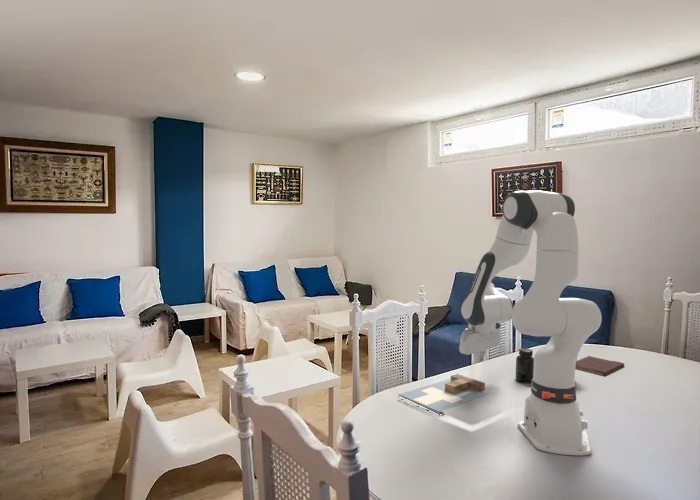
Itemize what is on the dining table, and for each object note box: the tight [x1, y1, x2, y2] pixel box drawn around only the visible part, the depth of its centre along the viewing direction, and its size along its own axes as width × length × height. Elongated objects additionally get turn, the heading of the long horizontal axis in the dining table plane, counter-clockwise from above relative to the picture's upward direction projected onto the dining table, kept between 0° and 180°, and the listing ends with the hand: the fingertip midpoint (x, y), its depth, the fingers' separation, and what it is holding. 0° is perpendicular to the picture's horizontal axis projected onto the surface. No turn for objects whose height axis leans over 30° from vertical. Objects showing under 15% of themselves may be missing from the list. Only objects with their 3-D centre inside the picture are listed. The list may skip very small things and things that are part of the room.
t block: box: [445, 373, 486, 394], centre depth 166 cm, size 12×12×2 cm
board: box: [398, 377, 493, 415], centre depth 161 cm, size 28×18×2 cm, turn 128°
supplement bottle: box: [515, 347, 534, 384], centre depth 179 cm, size 7×7×12 cm
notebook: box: [575, 355, 625, 377], centre depth 198 cm, size 15×20×2 cm
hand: (479, 361), depth 173 cm, fingers closed
